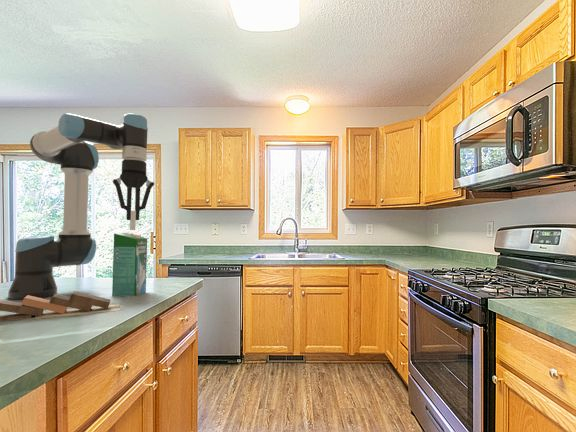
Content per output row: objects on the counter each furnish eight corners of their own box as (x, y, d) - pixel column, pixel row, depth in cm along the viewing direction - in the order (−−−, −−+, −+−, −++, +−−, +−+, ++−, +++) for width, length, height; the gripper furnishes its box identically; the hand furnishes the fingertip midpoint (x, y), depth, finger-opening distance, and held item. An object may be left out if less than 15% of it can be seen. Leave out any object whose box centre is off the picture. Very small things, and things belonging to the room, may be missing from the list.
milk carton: (135, 298, 123) (137, 233, 124) (111, 297, 123) (113, 232, 124) (145, 293, 132) (147, 232, 133) (124, 293, 132) (125, 232, 133)
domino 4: (108, 305, 106) (71, 297, 102) (110, 299, 106) (73, 291, 102) (107, 308, 102) (68, 300, 98) (110, 302, 103) (71, 293, 98)
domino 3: (91, 308, 104) (52, 299, 99) (93, 302, 104) (55, 293, 100) (89, 311, 100) (49, 302, 96) (92, 305, 100) (52, 296, 96)
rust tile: (65, 310, 101) (24, 301, 96) (68, 304, 101) (27, 295, 97) (63, 313, 97) (20, 304, 92) (66, 307, 97) (24, 297, 93)
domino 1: (42, 312, 98) (-3, 306, 93) (45, 306, 98) (0, 299, 93) (40, 316, 94) (-7, 309, 89) (42, 309, 94) (-4, 302, 89)
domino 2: (32, 318, 96) (-17, 324, 90) (32, 311, 96) (-17, 316, 90) (30, 322, 93) (-22, 328, 87) (31, 315, 93) (-21, 320, 87)
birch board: (38, 315, 99) (39, 311, 99) (119, 306, 110) (119, 303, 110) (34, 322, 91) (34, 319, 91) (121, 313, 102) (121, 309, 102)
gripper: (113, 156, 103) (111, 230, 102) (156, 161, 110) (154, 230, 109) (112, 160, 109) (110, 229, 109) (153, 164, 116) (151, 230, 115)
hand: (132, 230), depth 109 cm, fingers closed
